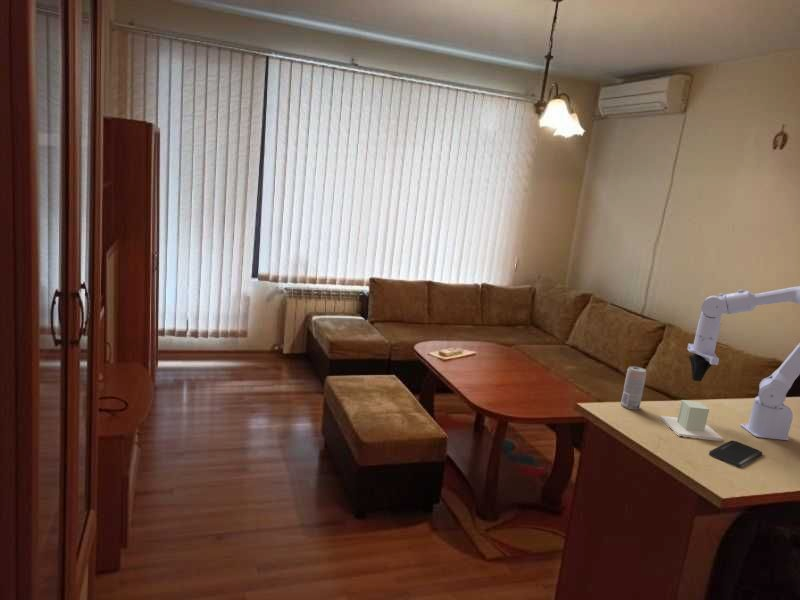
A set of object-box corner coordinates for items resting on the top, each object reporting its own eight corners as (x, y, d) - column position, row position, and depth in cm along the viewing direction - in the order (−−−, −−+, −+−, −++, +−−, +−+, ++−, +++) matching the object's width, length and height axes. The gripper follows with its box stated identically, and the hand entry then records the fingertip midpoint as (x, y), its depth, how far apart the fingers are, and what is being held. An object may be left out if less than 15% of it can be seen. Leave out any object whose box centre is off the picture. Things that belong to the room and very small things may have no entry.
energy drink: (636, 404, 176) (644, 367, 174) (641, 411, 171) (649, 373, 169) (618, 401, 177) (625, 364, 174) (623, 408, 172) (630, 370, 169)
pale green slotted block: (694, 423, 164) (699, 401, 162) (704, 431, 159) (709, 409, 157) (676, 421, 164) (681, 399, 162) (685, 429, 159) (690, 407, 157)
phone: (764, 452, 150) (740, 465, 140) (762, 456, 150) (739, 469, 141) (732, 439, 156) (707, 451, 146) (731, 443, 156) (706, 455, 146)
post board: (700, 422, 167) (704, 405, 166) (722, 441, 156) (726, 422, 155) (659, 418, 167) (663, 401, 166) (678, 436, 156) (682, 418, 154)
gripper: (681, 328, 176) (672, 370, 179) (705, 342, 162) (694, 387, 165) (704, 331, 176) (694, 373, 179) (730, 344, 162) (719, 390, 165)
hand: (696, 380), depth 172 cm, fingers closed
